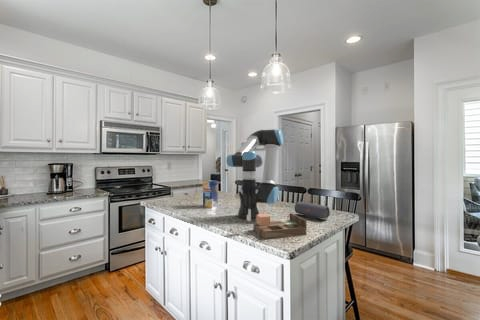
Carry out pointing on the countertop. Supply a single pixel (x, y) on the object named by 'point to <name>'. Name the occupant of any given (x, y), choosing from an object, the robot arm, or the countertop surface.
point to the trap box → (282, 228)
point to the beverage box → (210, 193)
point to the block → (263, 219)
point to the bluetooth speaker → (312, 210)
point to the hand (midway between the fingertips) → (248, 220)
